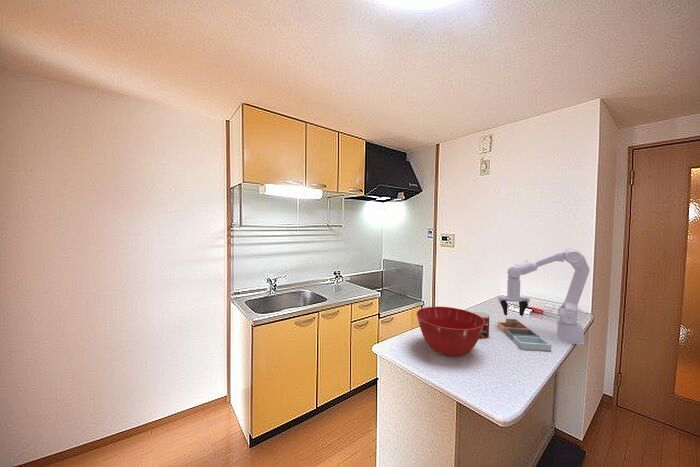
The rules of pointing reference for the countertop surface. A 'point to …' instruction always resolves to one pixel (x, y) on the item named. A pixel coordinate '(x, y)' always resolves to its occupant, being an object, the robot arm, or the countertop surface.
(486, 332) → the canned food
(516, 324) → the letter cube
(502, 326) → the dish terracotta
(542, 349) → the dish blue
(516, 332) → the dish charcoal
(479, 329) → the mixing bowl
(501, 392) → the countertop surface
